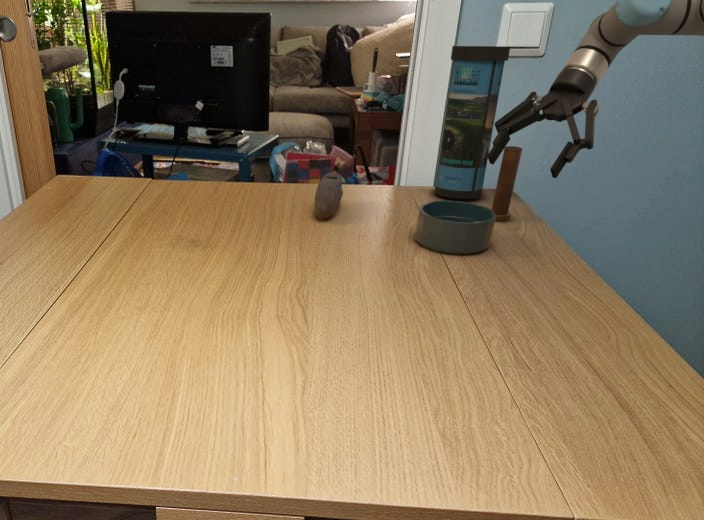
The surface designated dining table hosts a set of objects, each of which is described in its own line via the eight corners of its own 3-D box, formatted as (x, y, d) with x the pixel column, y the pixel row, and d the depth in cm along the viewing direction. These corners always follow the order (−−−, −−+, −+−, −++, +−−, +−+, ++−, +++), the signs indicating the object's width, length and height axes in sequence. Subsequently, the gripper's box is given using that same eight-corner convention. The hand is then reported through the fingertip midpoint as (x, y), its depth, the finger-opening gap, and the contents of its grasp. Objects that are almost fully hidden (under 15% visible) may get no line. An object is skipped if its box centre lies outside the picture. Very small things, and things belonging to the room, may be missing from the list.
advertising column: (482, 190, 152) (507, 46, 139) (485, 200, 142) (513, 46, 130) (431, 187, 155) (451, 46, 142) (431, 197, 145) (453, 45, 132)
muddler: (514, 219, 134) (530, 149, 127) (498, 222, 133) (514, 151, 126) (497, 213, 138) (513, 144, 131) (482, 216, 136) (496, 146, 129)
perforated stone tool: (332, 225, 131) (335, 190, 127) (306, 222, 132) (308, 188, 129) (344, 203, 143) (347, 171, 140) (320, 201, 145) (322, 169, 141)
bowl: (504, 249, 120) (512, 216, 117) (448, 260, 115) (455, 227, 112) (453, 227, 130) (459, 197, 127) (399, 237, 125) (404, 206, 122)
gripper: (644, 100, 127) (585, 191, 127) (524, 85, 144) (471, 165, 144) (641, 72, 122) (579, 167, 121) (516, 60, 139) (461, 144, 138)
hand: (520, 166), depth 132 cm, fingers open, 13 cm apart
